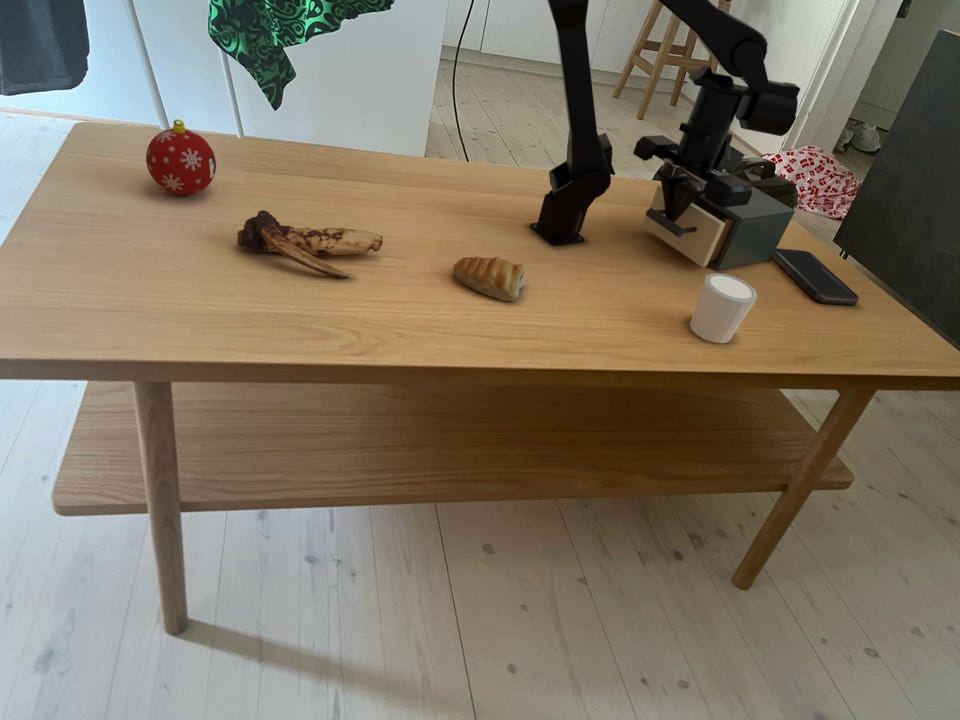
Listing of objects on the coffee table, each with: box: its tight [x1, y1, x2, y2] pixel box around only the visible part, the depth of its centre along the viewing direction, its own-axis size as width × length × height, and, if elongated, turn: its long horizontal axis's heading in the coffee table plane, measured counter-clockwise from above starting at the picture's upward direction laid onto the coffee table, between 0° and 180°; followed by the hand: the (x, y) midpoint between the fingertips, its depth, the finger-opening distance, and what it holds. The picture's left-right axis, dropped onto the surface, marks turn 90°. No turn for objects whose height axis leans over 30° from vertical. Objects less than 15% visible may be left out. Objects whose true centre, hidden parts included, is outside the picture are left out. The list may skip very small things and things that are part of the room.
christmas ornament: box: [145, 119, 217, 196], centre depth 91 cm, size 9×9×10 cm
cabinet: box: [699, 171, 796, 272], centre depth 112 cm, size 14×15×9 cm
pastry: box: [452, 256, 526, 302], centre depth 89 cm, size 9×7×4 cm
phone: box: [771, 247, 860, 306], centre depth 110 cm, size 8×1×15 cm
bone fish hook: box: [236, 209, 384, 279], centre depth 85 cm, size 9×5×18 cm
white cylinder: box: [689, 272, 758, 344], centre depth 89 cm, size 7×7×7 cm
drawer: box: [642, 184, 736, 268], centre depth 108 cm, size 17×13×7 cm
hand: (670, 222), depth 104 cm, fingers closed, pressing on drawer
